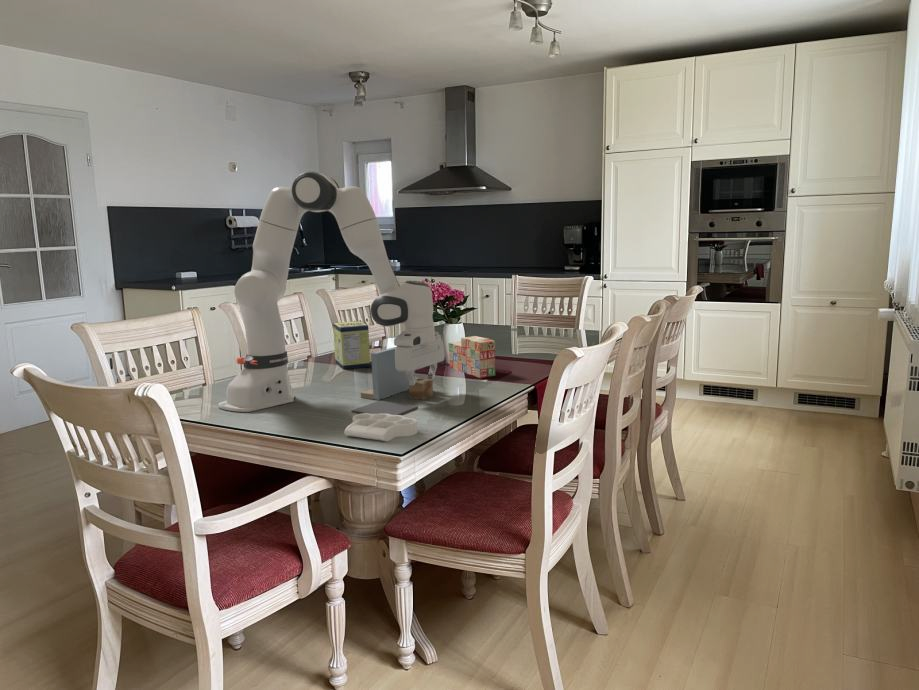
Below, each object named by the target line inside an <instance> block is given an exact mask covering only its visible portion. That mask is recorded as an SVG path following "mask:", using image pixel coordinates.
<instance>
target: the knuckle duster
mask: <svg viewBox="0 0 919 690" xmlns="http://www.w3.org/2000/svg"><path fill="white" fill-rule="evenodd" d="M351 420H352V422H351V423H350V424H349V425H347V426H346V427H345V429H344V435H345V436H347V437H349V438H350V437H352V438H353V437H355V438H360V439H366V440H372V441H373V440H375V441H380V442H389V441H391V440H393V439H395V438H398V437H411V436H414V435H416V434H417V433H419V432H418V420H417V419H416V418H410V417H406V416H405V415H391V414H382V413H381V414H370V413H362V414H358V413H356V414H355V415H353V416H352V419H351Z"/></svg>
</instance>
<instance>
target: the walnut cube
mask: <svg viewBox="0 0 919 690" xmlns="http://www.w3.org/2000/svg"><path fill="white" fill-rule="evenodd" d="M415 379H416V382H417V384H416V385H413V386H411V385H409V390H408V391H409V398H410V397H411V398H410V399H414V398H417V399H416V400H421V399H424V400H426V399H425V398H427V397H429V398H431V397H430V396H432V397H434V389H433V388H434V387H433V386H434V384H433V382H434V381H433V379H429V378H428V379H427V378H421V377H420V378H415ZM427 399H428V398H427Z"/></svg>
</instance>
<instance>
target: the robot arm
mask: <svg viewBox="0 0 919 690" xmlns="http://www.w3.org/2000/svg"><path fill="white" fill-rule="evenodd" d="M326 212H329V213H331V215H333V216H334V218H335V220H336V222H337V225H338V228H339V231H340V234H341V236H342V238H343V241H344V243H345V245H346V247H347V248H348V250H349V252H350V253H352V254H353V255H354V256H356V257H358V258H359V259H361V260H362V261H363V262H364V263H365V264H366V265H367V266H368V268H369V270H370V272H371V274H372V276H373V279H374V282H375V284H376V287H377V289H378V292H379V295H378V296H377V297H376V298H375V299H374V300H373V301H372V302H371V305H370V315H371V318H372V320H373V321H374V322H375V323H376V324H378V325H379V326H382V327H394V326H395V325H399V324H403V326H404V327H403V328H404V330H403V331H402V332H401V333H400V334H398V336H396V337H394V339H393V345H394V347H396V349H395V367H396V370H397V371H398V372H401V373H405V374H406V376H407V378H408V379H409V385H411V386H413V385H416V384H417V382H416V379H417V378H415V379H414V376H413V374H414V370H415V371H416V370H419V369H422V368H426V367H429V369H428V370H429V371H428V372H427V378H428V380H433V379H435V378H436V372H437V369H438V364H439V363H440V362H444V360H445V357H446V355H445V354H446V353H445V348H444V346H445V345H444V342H443V339H442V335H441V334H440V333H439V332H438V331H436V330H435V322H434V319H433V315H434V314H433V313H434V301H433V294H432V289H431V287H430V285H429V284H428V283H426V282H424V281H418V280H406V281H404V283H402V284H401V285H400V283H399V281H398V279H397V276H396V274H395V271H394V269H393V267H392V264H391V261H390V259H389V257H388V255H387V251H386V246H385V244H384V243H385V242H384V239H383V235H382V232H381V229H380V228H381V227H380V225H379V222H378V219H377V216H376V213H375V211H374V209H373V207H372V205H371V202H370V200H369V198H368V197H367V195H366V194H365V192H364V190H363V189H362V188H360V187H359V186H355V185H354V186H353V185H349V186H345V187H340V185H339V184H338V182H336V180H335V179H333V178H332V177H330V176H329V175H326V174H325V173H322V172H316V171H305V172H303V173H300V174H298V176H296V178H295V179H294V180H293V182H292V185H291V187H287V186H277V187H274V188H272V189H271V190H270V192H269V194H268V196H267V198H266V200H265V202H264V205H263V208H262V210H261V214H260V216H259V220H258V224H257V228H256V232H255V235H254V240H253V243H252V252H253V253H252V264H251V270H250V271H248V272H246V273H244V274H242V275H241V277H240V278H238V280H237V282H236V284H235V285H234V289H233V290H234V296H235V299H236V301H237V303H238V306H239V310H240V314H241V317H242V320H243V324H244V331H245V339H246V340H245V341H246V353H247V354H246V355H245V358H244V357H240V356H238V357H236V359H235V362H236V364H237V365H243V368H242V369H241V371H240V372H239V373H238V374H236V376H235V377H234V378H233V379H232V380H231V381H230V382H229V384H227V387H226V395H225V399H226V400H224V401H221V402H218V408H219V409H222V410H225V411H229V412H237V413H238V412H239V413H240V412H241V413H242V412H243V413H246V412H247V413H248V412H255V411H258V410H263V409H267V408H271V407H275V406H279V405H285V404H290V403H293V402H294V401H295V399H294V398H295V393H294V391H293V389H292V388H293V387H292V384H291V380H290V375H289V370H288V363H289V356H288V352H287V350H286V341H285V339H286V338H285V327H284V323H283V322H282V319H281V315H280V310H279V305H278V302H279V301H280V300H282V298H283V297H284V296H285V293H286V290H287V283H288V278H289V269H290V262H291V256H292V252H293V249H294V244H295V243H296V242H295V241H296V237H297V234H298V230H299V227H300V223H301V220H302V217H303V216H304V214H305V213H326Z"/></svg>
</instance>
